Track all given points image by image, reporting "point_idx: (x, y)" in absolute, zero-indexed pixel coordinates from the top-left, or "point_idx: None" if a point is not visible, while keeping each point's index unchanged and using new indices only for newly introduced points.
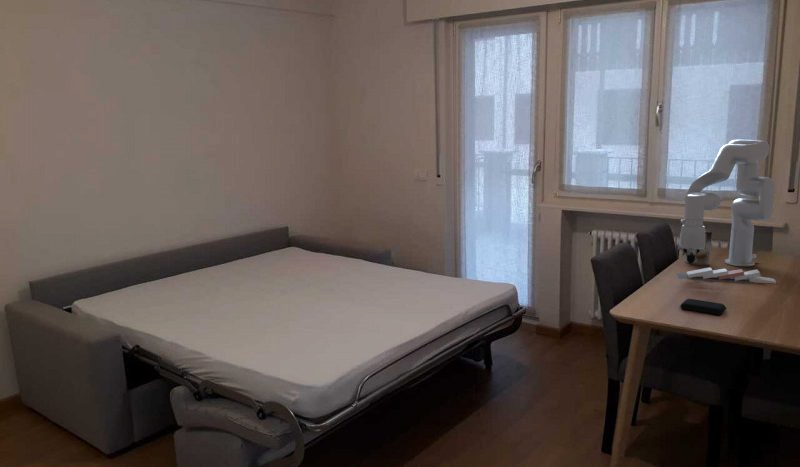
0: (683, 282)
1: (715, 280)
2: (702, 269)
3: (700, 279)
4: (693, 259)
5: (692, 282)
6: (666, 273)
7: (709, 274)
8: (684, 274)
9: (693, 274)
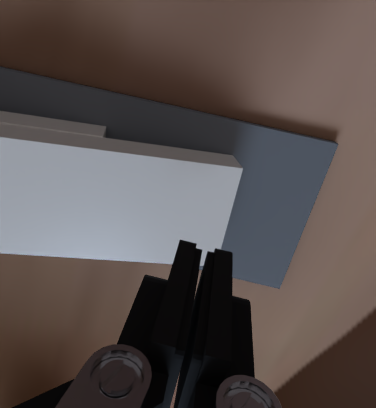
0: (349, 5)
1: (8, 74)
2: (72, 234)
3: (138, 106)
4: (152, 300)
5: (246, 13)
6: (348, 316)
7: (32, 125)
8: None
9: (189, 157)
